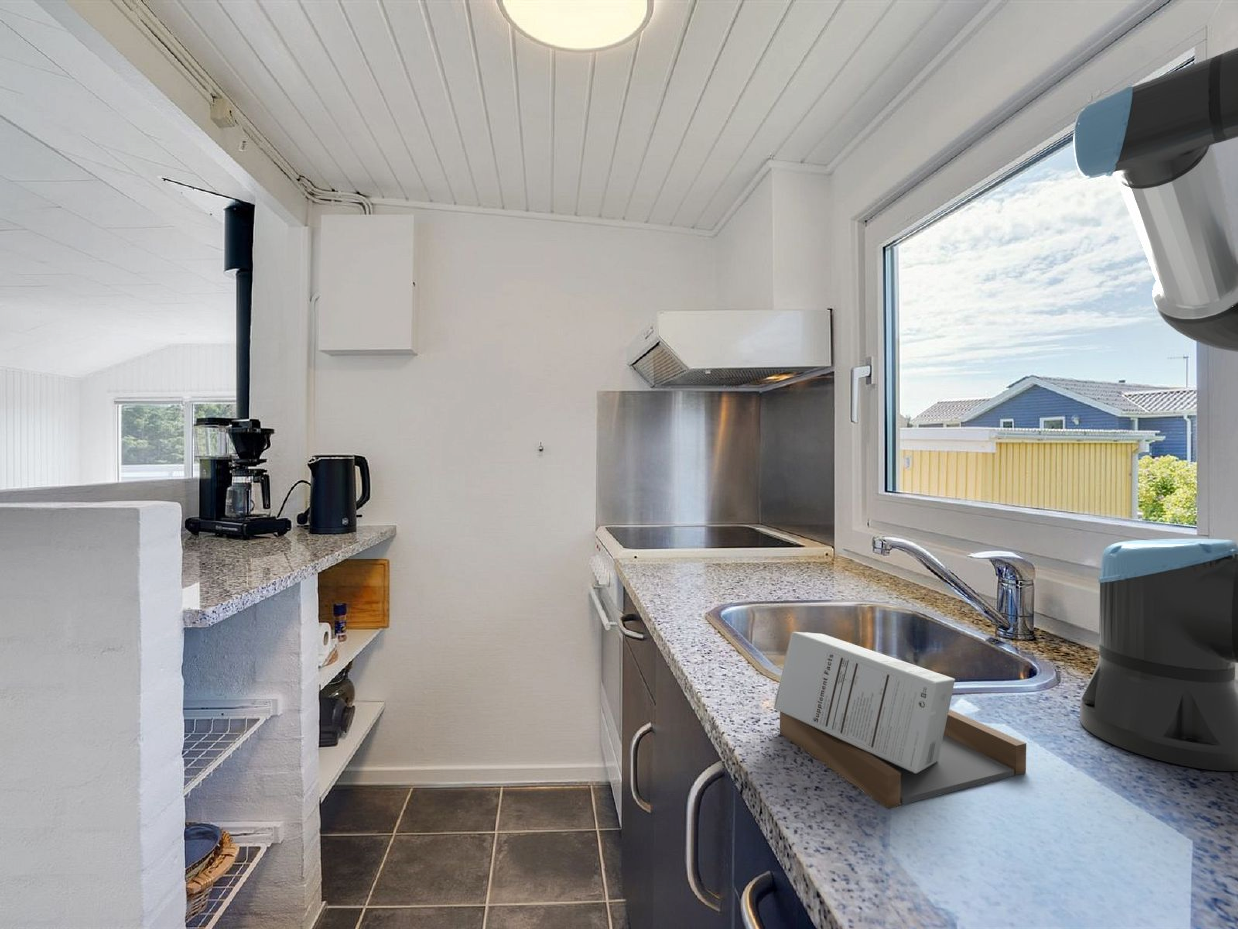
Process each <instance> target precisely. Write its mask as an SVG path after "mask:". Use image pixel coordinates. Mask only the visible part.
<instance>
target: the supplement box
mask: <svg viewBox="0 0 1238 929" xmlns="http://www.w3.org/2000/svg"><path fill="white" fill-rule="evenodd" d="M784 658H785V659H784V664H783V668H782V672H781V676H780V680H779V682H778V684H779V685H778V687H777V692H776V696H775V701H774V705H773V708H774V710H776V711H778V712H779V713H780V712H783V713H785V714H787V715H789V716H791V717H794V718H796V719H798V720H800V721H802V722H804V723H807V724H809V725H811V726H813V727H815V728H817V729H820V730H822V731H824V732H826V733H828V734H830V735H833V736H835V737H837V738H839V739H841V740H843V741H845V742H848V743H850V744H852V745H854V746H856V747H858V748H861V749H863V750H865V751H867V752H869V753H872V754H874V755H876V756H878V757H880V758H882V759H885V760H887V761H889V762H891V763H893V764H896V765H898V766H900V767H902V768H905V769H907V770H909V771H911V772H913V773H918V772H920V771H921V770H923V769H925V768H927V767H928V766H930V765H932V764H933V763H935V762H937V761H938V759H939V754H940V749H941V744H942V739H943V734H944V730H945V726H946V720H947V716H948V712H949V709H950V707H951V706H950V705H951V701H952V697H953V692H954V686H955V682H956V679H955V678H954V677H950V676H948V675H945V674H942V673H938V672H936V671H933V670H930V669H928V668H927V669H926V668H923V667H922V666H918V665H915V664H914V663H913V664H912V663H909V662H907V661H904V660H901V659H899V658H895V657H893V656H889V655H887V654H883V653H880V652H877V651H874V650H871V649H868V648H865V647H862V646H860V645H856V644H854V643H851V642H848V641H845V640H842V639H839V638H836V637H833V636H830V635H827V634H825V633H817V632H816V633H814V632H809V631H808V632H807V631H806V632H801V631H792V632H791V634H790V637H789V641H788V645H787V649H786V654H785V657H784Z"/></svg>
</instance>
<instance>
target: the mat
mask: <svg viewBox="0 0 1238 929" xmlns="http://www.w3.org/2000/svg"><path fill="white" fill-rule="evenodd" d="M862 750H863V749H862ZM864 751H865V750H864ZM866 752H867V751H866ZM867 753H869V752H867ZM869 754H871V755H872V756H874V757H876V758H877V759H879V760H881V761H882V762H884V763H885V764H887V765H889V766H890V767H892V768H894V769H895V770H897V771H899V772H900V773H901V790H900V805H902V806H903V805H908V804H911V803H914V802H918V801H922V800H926V799H930V798H934V797H937V796H942V795H945V794H948V793H949V794H950V793H953V792H956V791H961V790H964V789H968V788H971V787H972V788H973V787H976V786H980V785H983V784H987V783H991V782H995V781H999V780H1003V779H1006V778H1010V777H1014V776H1015V774H1014V769H1012V768H1010V767H1008V766H1006V765H1004V764H1002V763H1000V762H998V761H996V760H994V759H992V758H990V757H988V756H986V755H984V754H982V753H980V752H978V751H975V750H973V749H971V748H969V747H967V746H965V745H963V744H961V743H959V742H957V741H955V740H953V739H951V738H949V737H947V736H945V735H943V739H942V744H941V749H940V754H939V759H938V761H937V762H935V763H933V764H932V765H930V766H928V767H927V768H925V769H923V770H921V771H920V772H918V773H913V772H911V771H909V770H907V769H905V768H902V767H900V766H898V765H896V764H893V763H891V762H889V761H887V760H885V759H882V758H880V757H878V756H876V755H874V754H872V753H869Z"/></svg>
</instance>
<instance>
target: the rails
mask: <svg viewBox="0 0 1238 929" xmlns="http://www.w3.org/2000/svg"><path fill="white" fill-rule="evenodd" d="M779 734H780V735H782V736H783V737H784V738H786V739H788V740H789V741H790V742H792V743H793V744H794V745H795V746H797V747H799V748H800V749H802V750H803V751H805V752H806V753H808V754H809V755H810V756H811V757H813V758H815V759H816V760H818V762H820V763H821V764H823V765H824V766H826V767H828V768H829V769H830V770H832V771H833V772H834V773H836V774H837V775H839V776H840V777H842V778H843V779H845V780H846V781H848V782H849V783H850V784H852V785H853V786H855V787H856V788H857V789H859V790H860V791H862V792H863V793H864V794H866V795H867V796H869V797H870V798H872V799H873V800H875V801H876V802H877V803H879V804H880V805H882V806H884V808H886V809H892V808H895V807H899V806H901V804H900V790H901V773H900V772H899V771H897V770H895V769H894V768H892V767H890V766H889V765H887V764H885V763H884V762H882V761H881V760H879V759H877V758H876V757H874V756H872V755H871V754H869V753H867V752H866V751H864V750H862V749H861V748H858V747H856V746H854V745H852V744H850V743H848V742H845V741H843V740H841V739H839V738H837V737H835V736H833V735H830V734H828V733H826V732H824V731H822V730H820V729H817V728H815V727H813V726H811V725H809V724H807V723H804V722H802V721H800V720H798V719H796V718H794V717H791V716H789V715H787V714H785V713H783V712H780V711H779ZM943 735H945V736H947V737H949V738H951V739H953V740H955V741H957V742H959V743H961V744H963V745H965V746H967V747H969V748H971V749H973V750H975V751H978V752H980V753H982V754H984V755H986V756H988V757H990V758H992V759H994V760H996V761H998V762H1000V763H1002V764H1004V765H1006V766H1008V767H1010V768H1012V769H1014V776H1017V775H1018V776H1019V775H1021V774H1026V773H1027V742H1025V741H1022V740H1020V739H1017V738H1015V737H1013V736H1011V735H1009V734H1007V733H1004V732H1002V731H1000V730H997V729H995V728H992V727H990V726H988V725H986V724H984V723H982V722H980V721H977V720H975V719H973V718H971V717H968V716H966V715H964V714H961V713H959V712H957V711H954V710H952V709H950V708H949V712H948V716H947V720H946V726H945V730H944V734H943Z"/></svg>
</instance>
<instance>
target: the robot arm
mask: <svg viewBox="0 0 1238 929" xmlns="http://www.w3.org/2000/svg"><path fill="white" fill-rule="evenodd" d="M1236 138H1238V47H1235V48H1233V49H1231V50H1228V51H1224V52H1223V53H1220V54H1218V55H1215V56H1213V57H1210V58H1207V59H1205V60H1202V61H1199V62H1197V63H1194V64H1190V65H1188V66H1185V67H1183V68H1180V69H1177V70H1175V71H1172V72H1168V73H1166V74H1163V75H1160V76H1158V77H1155V78H1153V79H1149V80H1147V81H1145V82H1144V81H1143V82H1141V83H1138V84H1136V85H1133V86H1132V85H1131V86H1127V87H1125V88H1124V89H1121V90H1120V91H1117V92H1115V93H1113V94H1111V95H1108V96H1106V97H1104V98H1102V99H1099V100H1096V101H1095V102H1093V103H1090V104H1088V105H1087V106H1085V107H1084V108H1083V109H1082V110H1081V111H1080V113H1078V115H1077V117H1076V121H1075V124H1074V128H1073V151H1074V158H1075V164H1076V167H1077V170H1078V171H1079V173H1080V174H1081V176H1082V177H1084V178H1086V179H1088V180H1096V179H1101V178H1106V177H1107V178H1109V177H1112V176H1113V175H1115V178H1116V180H1117V182H1118V186H1119V188H1120V191H1121V193H1122V196H1123V198H1124V201H1125V203H1126V206H1127V208H1128V211H1129V214H1130V217H1131V218H1132V220H1133V224H1134V226H1135V229H1136V231H1137V235H1138V236H1139V240H1140V241H1141V244H1142V247H1143V250H1144V252H1145V255H1146V257H1147V259H1148V263H1149V265H1150V267H1151V270H1152V273H1153V275H1154V278H1155V280H1156V281H1155V283H1154V285H1153V290H1152V296H1151V297H1152V300H1153V303H1154V305H1155V308H1156V311H1157V312H1158V314H1159V316H1160V317H1161V318H1162V319H1163V320H1164V322H1165V323H1167V324H1168V325H1169V326H1170V327H1171V328H1172V329H1174V330H1175V331H1176V332H1178V333H1179V334H1182V335H1183V336H1185V337H1186V338H1189V339H1191V340H1193V341H1195V342H1197V343H1200V344H1202V345H1204V346H1205V345H1206V346H1208V347H1211V348H1215V349H1217V350H1218V349H1219V350H1225V351H1229V352H1236V353H1237V352H1238V247H1237V243H1236V239H1235V235H1234V231H1233V227H1232V222H1231V218H1230V213H1229V209H1228V205H1227V201H1226V197H1225V193H1224V186H1223V183H1222V179H1221V175H1220V170H1219V165H1218V161H1217V158H1216V153H1215V149H1214V145H1215V144H1219V143H1222V142H1225V141H1230V140H1232V139H1236ZM1232 306H1233V307H1232ZM1099 576H1100V577H1098V580H1097V582H1098V583H1099V631H1098V632H1099V634H1098V635H1099V637H1098V638H1099V639H1098V641H1099V642H1098V643H1099V644H1098V645H1099V649H1098V650H1099V651H1098V654H1099V655H1098V662H1097V665H1096V666H1095V669H1094V671H1093V673H1092V675H1091V677H1090V679H1089V682H1088V683H1087V686H1086V689H1085V691H1084V693H1083V695H1082V697H1081V699H1080V704H1079V722H1080V724H1081V725H1082V727H1084V728H1085V730H1087V731H1088V732H1090V733H1091V734H1092V735H1094V736H1096V737H1097V738H1099V739H1101V740H1103V741H1105V742H1107V743H1110V744H1112V745H1113V746H1116V747H1119V748H1121V749H1124V750H1127V751H1129V752H1131V753H1135V754H1138V755H1141V756H1143V757H1148V758H1151V759H1155V760H1158V761H1161V762H1164V763H1165V762H1166V763H1169V764H1175V765H1180V766H1183V767H1184V766H1185V767H1188V768H1194V769H1195V768H1196V769H1201V770H1208V771H1221V772H1223V771H1224V772H1238V690H1237V687H1236V664H1238V543H1237V542H1236V541H1234V540H1231V539H1225V538H1223V539H1221V538H1220V539H1219V538H1213V539H1212V538H1211V539H1210V538H1164V539H1163V538H1161V539H1160V538H1159V539H1158V538H1157V539H1142V540H1141V539H1139V540H1137V539H1136V540H1128V541H1126V540H1125V541H1120V542H1116V543H1112V544H1110V545H1108V546H1107V547H1106V548H1105V549H1104V550H1103V552H1102V556H1101V566H1100V575H1099Z"/></svg>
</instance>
